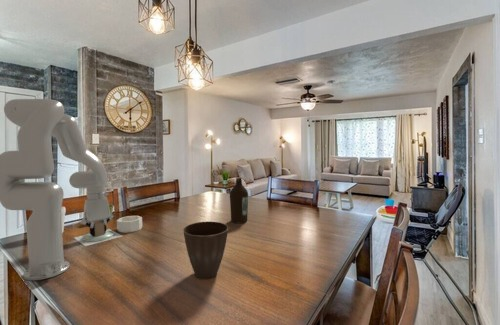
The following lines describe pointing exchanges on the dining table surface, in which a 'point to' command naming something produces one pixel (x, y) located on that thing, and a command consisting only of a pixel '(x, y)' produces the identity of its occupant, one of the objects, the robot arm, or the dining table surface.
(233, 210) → the olive oil
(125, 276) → the dining table surface
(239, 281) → the dining table surface
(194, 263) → the plant pot
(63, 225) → the foam cup
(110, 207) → the plant pot
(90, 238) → the lid
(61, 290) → the dining table surface
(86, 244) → the mat
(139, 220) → the bowl
